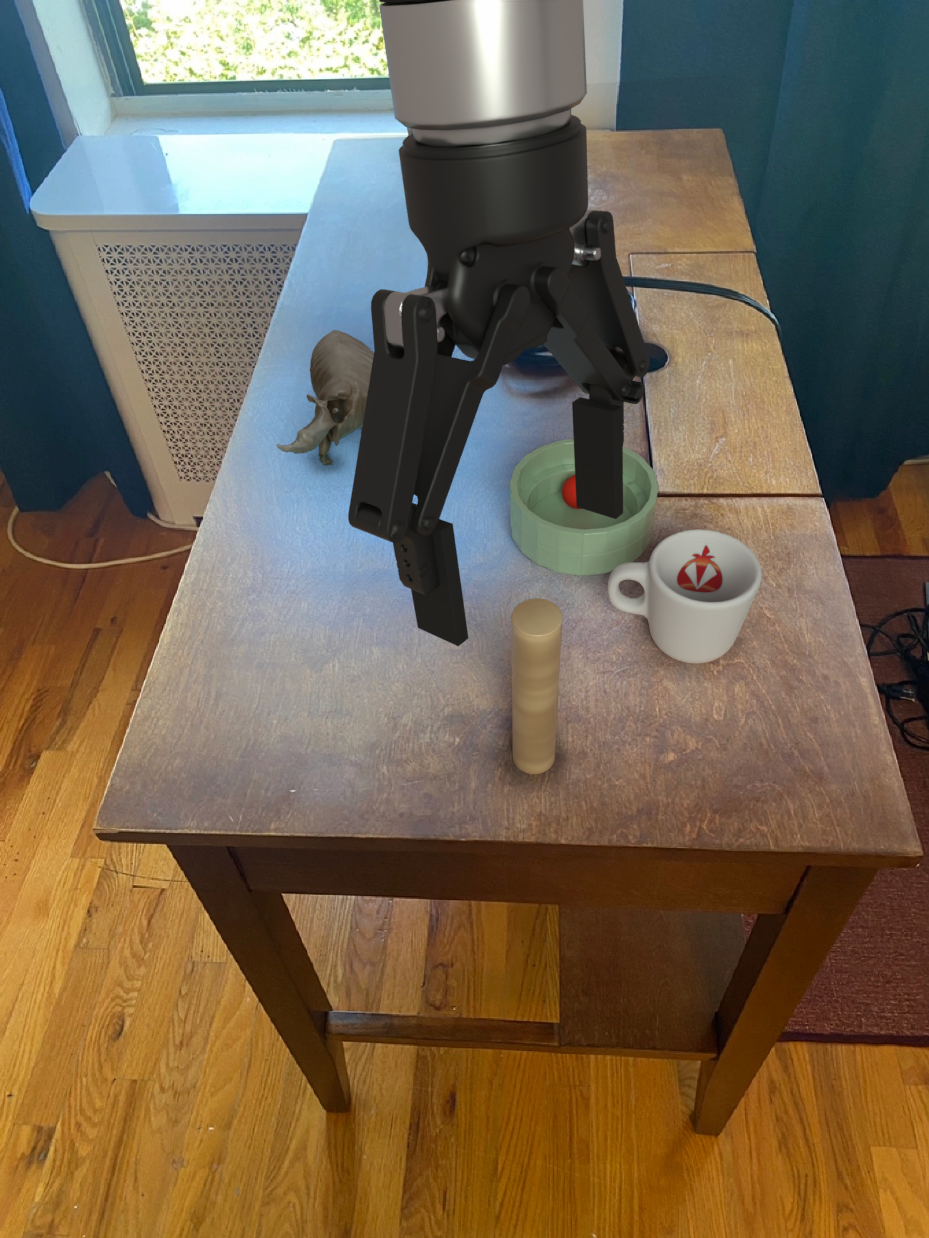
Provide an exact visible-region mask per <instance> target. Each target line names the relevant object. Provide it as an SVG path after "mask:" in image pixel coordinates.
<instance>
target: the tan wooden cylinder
mask: <svg viewBox="0 0 929 1238" xmlns="http://www.w3.org/2000/svg"><path fill="white" fill-rule="evenodd" d="M562 632H563V613H562V610H561V609H560V608H559V606H558V605H557V604H555V603H554V602H553V601H550V600H548V599H545V598H529V599H526V600H523V601H521V602H520V603H518V604H517V605H516V606H515V607H514V608H513V610H512V612H511V697H512V698H511V710H512V711H511V715H512V716H511V718H512V719H511V721H512V724H511V725H512V729H511V730H512V760H513V763H514V765H515V766H516V767H517V768H518V770H520V771H521V772H523V773H525V774H528V775H529V774H530V775H540V774H543V773H545V772H547V771H548V770H550V769H551V768H552V766H553V765H554V763H555V760H556V748H557V747H556V746H557V728H558V727H557V726H558V711H559V710H558V707H559V689H560V688H559V687H560V674H561V673H560V671H561V654H562V652H561V651H562V636H563V635H562Z"/></svg>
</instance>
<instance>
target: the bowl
mask: <svg viewBox="0 0 929 1238" xmlns="http://www.w3.org/2000/svg"><path fill="white" fill-rule="evenodd" d="M574 475H575V459H574V438H569V439H559V440H557V441H554V442H551V443H547V444H544V445H541V446H539V447H537V448H535V449H534V450H532V451H531V452H528V453H527V454H525V456H523V458H522V459H521V460H519V462H518V463H517V464H516V465H515V467H514V468H513V471H512V474H511V477H510V481H509V525H510V532H511V538H512V540H513V542H514V543H515V544H516V546H517V548H518V549H519V550H520V553H522V554H523V555H524V556H525V557H528V559H530V561H532V562H533V563H535V564H536V565H539V566H541V567H544V568H546V569H548V570H551V571H554V572H556V573H559V574H565V575H573V576H579V577H580V576H594V575H603V574H607V573H610V572H612V571H613V570H614V568H616V567H617V566H618V565H620V564H624V563H629V562H635V560H637V559H638V558H640V557H641V556H642V554H643V553H644V552H645V550H646V549H647V547H648V546H649V545H650V543H651V539H652V533H653V528H654V521H655V515H656V507H657V501H658V494H659V487H660V484H659V483H658V479H657V476H656V473H655V470H654V469H653V468H652V467H651V466H650V464H649V462H647V461H646V459H644V458H643V457H642V456H641V455H639V454H638V453H636V452H634V451H633V450H631V449H629V448H628V447H626V446H623V514H622V515H620V516H619V517H618V518H617V519H614V518H610V517H607V516H604V515H601V514H598V513H594V512H591V511H588V510H585V509H575V508H572V507H570V506H568V505H567V504H566V503H565V501H564V499H563V496H562V488H563V485H564V483H565V482H566V480H567V479H569V478H570V477H572V476H574Z"/></svg>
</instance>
